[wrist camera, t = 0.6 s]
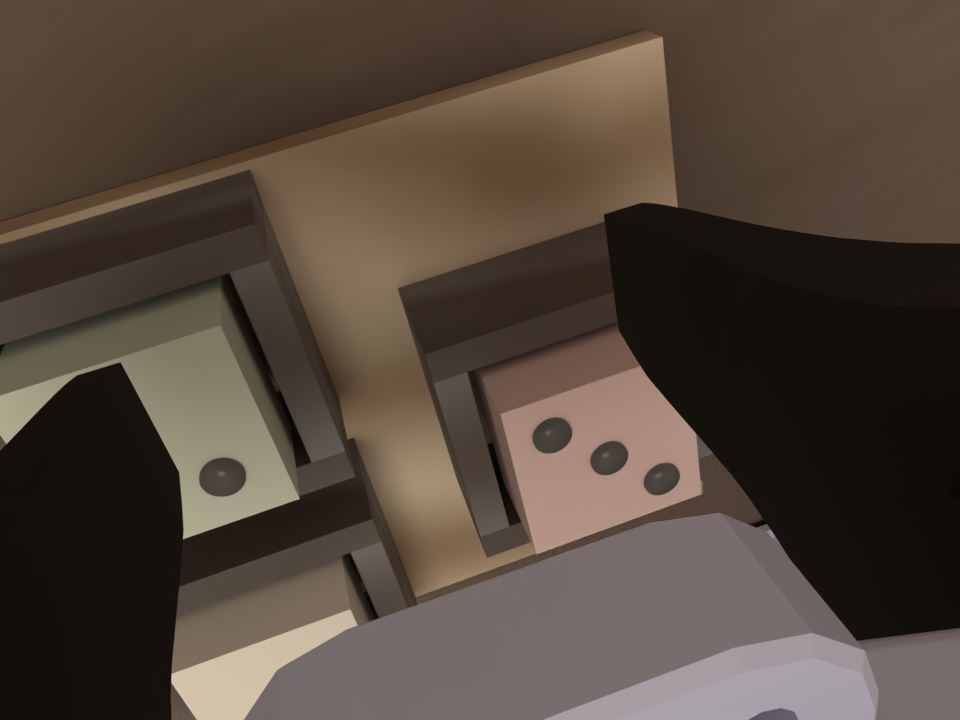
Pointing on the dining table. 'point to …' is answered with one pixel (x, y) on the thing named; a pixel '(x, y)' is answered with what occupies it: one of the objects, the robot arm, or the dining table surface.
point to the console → (380, 299)
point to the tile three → (585, 437)
